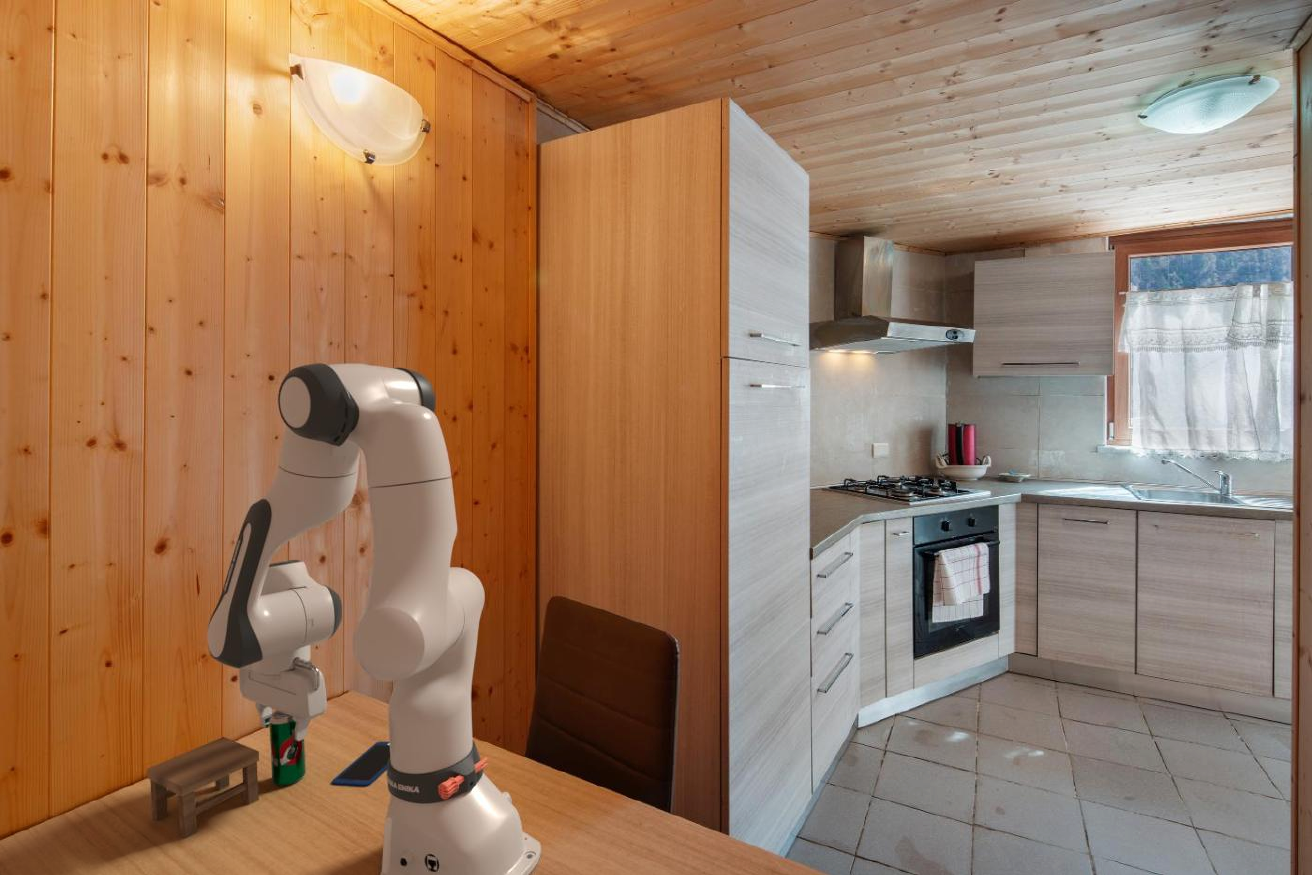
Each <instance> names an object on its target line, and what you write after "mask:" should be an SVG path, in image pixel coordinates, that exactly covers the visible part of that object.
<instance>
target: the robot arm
mask: <svg viewBox="0 0 1312 875" xmlns="http://www.w3.org/2000/svg"><path fill="white" fill-rule="evenodd" d="M278 389H279V390H278V395H277V403H278V410H279V415H280V417H281V420H282V421H283V423H284V424H285V425H286V426H285V429H284V433H283V437H282V442H281V447H280V452H279V460H278V466H277V467H278V468H277V472H276V476H275V478H274V481H273V482H272V485H271V486H270V488H268V490H267V492H266V493H265V495H264V496H263V497H262V498H261V499H259V500H258V501H255V502H254V503H253V504H251V506H250V507H249V509H248V510H247V513H246V515H245V517H244V519H243V520H244V521H243V523H242V526H241V527H240V531H239V535H238V537H237V541H236V544H235V547H234V549H233V553H232V557H231V560H230V563H229V567H228V571H227V574H226V578H225V581H224V584H223V588H222V591H221V593H220V597H219V599H218V602H217V603H216V606H215V608H214V610H213V613H212V614H211V616H210V618H209V619H210V620H209V622H208V626H207V632H206V633H207V634H206V642H207V648H208V652H209V654H210V656H211V658H212V659H214V660H216V661H217V662H219V663H221V664H223V665H225V666H228V667H230V668H234V669H237V670H238V682H239V685H238V686H239V691H240V693H241V696H242V697H243V698H244V699H246V700H249V701H252V702H253V703H255V708H256V710H257V713H258V716H259V717H260V718H259V719H260V720H259V725H260V727H263V728H266V729H269V721H270V719H271V715H272V713H273V710H275V711H277V710H278V711H280V712H283V713H286V714H288V715H291V716H294V718H295V722H297V723H296V727H295V728H294V729H292V738H293V739H295V740H297V741H300V740H302V739H304V740H305V739H306V738H307V736H308V726H309V724H310V722H311V720H313V719H315V718H317V717H319V716H322V715H324V713H325V712H326V710H327V707H328V703H327V702H328V701H327V699H328V698H327V690H326V684H325V678H324V675H323V673H322V671H321V670H320V669H318V668H317V666H316V664H315V663H314V662H313V661H310V660H311V658H312V656H311V655H312V654H311V652H312V651H311V645H315V644H319V643H321V642H324V641H326V640H328V639H330V638H332V637H333V636H335V633H337V631H338V629H339V627H340V625H341V623H342V619H343V605H342V600H341V599H342V598H341V596H340V594H339V593H337V591H335V590H334V589H332V588H331V587H329V586H327V585H325V584H319V583H318V582H317V581H316V580H315V579H314V578H312V577H311V576H310V574H309V572H308V569H307V565H306V563H305V562H304V561H303V560H299V559H290V560H285V561H279V562H273V563H271V561H272V559H273V557H274V555H275V554H276V553H277V552H278V550H280V549H281V547H283V546H284V545H286V543H288V542H289V541H291V540H293V539H295V538H296V537H298V536H300V535H302V534H303V533H306V532H308V531H310V530H312V529H315V528H317V527H319V526H322V525H324V524H326V523H328V522H330V521H332V520H333V519H335V518H336V517H339V515H340V514H342V513H343V511H345V510H346V509H347V508H348V506H349V505H350V504H351V502H352V500H353V498H354V496H355V492H356V490H357V485H358V477H359V476H358V475H359V467H360V459H361V458H360V457H361V456H360V455H361V454H360V453H361V451H362V452H363V455H364V459H365V469H366V481H367V487H368V488H367V489H368V490H367V491H368V500H369V501H368V502H369V510H370V518H371V529H372V544H373V545H372V560H371V568H370V576H369V581H368V582H369V583H368V589H367V595H366V601H365V605H364V608H363V611H362V614H361V616H360V619H359V620H358V623H357V625H356V627H355V628H354V631H353V635H352V650H353V654H354V658H355V660H356V662H357V664H358V665H359V666H360V668H361V669H362V670H363V671H364V672H365V673H366V674H368V675H369V676H371V677H372V678H374V679H377V680H379V681H384V682H395V685H394V688H393V691H392V694H391V695H390V698H389V702H388V709H387V711H388V712H387V713H388V734H389V735H388V736H389V740H388V741H389V742H390V757H389V759H388V763H387V770H386V780H387V790H388V792H389V793H390V797H389V798H390V799H389V802H388V809H387V812H386V816H385V821H384V830H383V843H382V844H383V845H382V859H381V871H380V874H379V875H530V874H531V873H532V871H533V870H534V869H535V867H536V866H537V864H538V862H539V859H540V857H541V854H542V847H541V842H540V841H539V840H537V839H535V838H534V837H532V836H530V834H528V833H526V832H525V831H523V826H522V821H521V818H520V813H519V812H518V809H517V808H516V807H515V806H514V805H513V799H512V797H511V794H510V793H509V792H508V791H502V792H501V790H500V789H498V787H497V786H496V785H495V784H494V783H493V782H492V781H491V780H490V779H489V777H488V776H487V775H486V774H485V773H484V768H485V767H487V766H488V765H489V763H488V762H486V761H487V760H488V759H489V758H488V757H487V756H486V757H484V758H482V759H481V757H480V753H479V749H478V748H477V746H476V742H475V741H474V739H473V720H472V719H473V718H472V716H473V715H472V714H473V713H472V686H473V676H474V669H475V668H474V667H475V660H476V653H477V647H478V646H477V644H478V638H479V637H478V636H479V627H480V625H479V624H480V620H481V617H482V611H483V609H484V606H485V599H486V598H485V597H486V596H485V589H484V586H483V584H482V581H481V580H480V578H478V577H477V575H476V574H475V573H473V572H472V571H470V570H468V569H466V568H462V567H460V566H459V567H456V566H455V567H454V566H453V567H452V566H451V561H452V553H453V547H454V544H455V543H454V542H455V540H456V538H457V535H458V523H457V522H458V521H457V514H456V503H455V496H454V495H455V494H454V487H453V477H452V472H451V471H452V470H451V464H450V460H449V459H450V458H449V453H448V449H447V445H446V441H445V438H444V434H443V431H442V430H443V429H442V428H441V425H440V422H439V419H438V417H437V416H436V414H435V410H436V393H435V391H434V388H433V386H432V384H431V382H430V381H429V379H428V378H427V377H426V376H424V375H423V374H422V373H419V372H417V371H415V370H412V369H408V368H405V367H395V368H393V367H386V366H379V365H371V364H370V365H369V364H365V363H357V362H356V363H349V362H348V363H333V364H325V363H322V362H318V363H317V362H316V363H311V364H304V365H301V366H298V367H294V368H292V369H291V370H290V371H288V372H287V373H286V374H285V376H284V378H283V380H282V381H281V384H280V386H279V388H278ZM485 762H486V763H485Z"/></svg>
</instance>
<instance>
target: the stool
mask: <svg viewBox="0 0 1312 875" xmlns="http://www.w3.org/2000/svg"><path fill="white" fill-rule="evenodd" d="M259 753H260V752H259V750H256V749H253V748H252V747H249V746H246V745H244V744H242V743H239V742H238V741H234V740H232V739H231V738H227V737H224V736H222V737H220V738H218V739H215V740H213V741H210V742H208V743H205V744H203V745H201V746H198V747H196V748H194V749H191V750H188V751H186V752H185V753H181V754H180V755H176V756H175V757H172V758H169V759H167V760H164V761H162V762H160V763H158V764H156V765H153V766H150V767H148V768H147V769H146V773H147V774H146V775H147V776H146V777H147V779H148V780H149V781H150V797H151V816H152V819H153V820H155V821H156V822H157V821H160V820H162V819H163V818H166V817H168V816H169V809H168V808H169V807H168V806H169V805H168V799H170V798H172V797H175V796H177V795H178V797H177V798H178V813H179V815H178V816H179V817H178V818H179V832H180V836H181V837H183V838H184V839H185V838H188V837H189V836H190V837H191V836H192V835H193V834H195V833H197V831H198V830H197V828H198V827H197V815H198V814H200V813H202V812H204V811H206V810H208V809H210V808H211V807H214V806H216V805H218V804H220V803H222V802H224V801H226V800H228V799H230V798H232V797H234V796H236V795H238V794H240V793H242V792H243V803H245V804H247V805H251V804H253V803H254V802H256V801H258V800H259V797H260V796H259V781H258V780H259V779H258V778H259V777H258V762H259V761H260V754H259ZM240 770H242V771H241V772H242V782H239V784H237V785H235V786H232V787H230V775H231V774H233V773H235V772H238V771H240ZM212 783H214V785H215V786H214V787H215V789H217V790H219V791H222V790H223V789H226V788H227V787H230V788H228V789H226V790H224V791H222V792H220V793H218V794H216V795H213V796H212V797H210V798H208V799H205V800H203V801H201V802H200V803H198V804H196V794H195V792H196V791H197V790H199V789H202V788H203V787H206V786H208V785H210V784H212Z"/></svg>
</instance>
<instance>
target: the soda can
mask: <svg viewBox="0 0 1312 875" xmlns="http://www.w3.org/2000/svg"><path fill="white" fill-rule="evenodd" d="M296 723H297V722H295V718H294V716H291V715H288V714H286V713H283V712H280V711H278V710H275V711H272V715H271V719H270V721H269V727H268V729H269V744H270V745H269V746H270V747H269V748H270V764H271V783H272V784H274V785H275V786H276V787H288V786H290V785H293V784H296V783H298V782H299V781H301V780H302V779H303V778H304V776H305V775H306V773H307V769H306V767H307V766H306V750H305V748H306V747H305V738H304V739H302V740H300V741H297V740H295V739H293V738H292V729H294V728H295V727H296Z"/></svg>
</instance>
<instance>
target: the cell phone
mask: <svg viewBox="0 0 1312 875" xmlns="http://www.w3.org/2000/svg"><path fill="white" fill-rule="evenodd" d="M389 757H390V741H377V742H375V743H374V744H372V746H370V747H369V748H368V749H367V750H365V751H364V752H363V753H362V754H361V755H360V756H359V757H358V758H357V759H355V760H354V761H353V762H352V763H351V764H349V766H347V767H346V768H344V770H342V771H341V772H340V773H339V774H337V776H335V778H333V780H331V785H333V786H340V787H341V786H342V787H360V788H364V787H365V788H367V787H369V786H371V785H372V784H373V783H375V782H376V781H377V780H378V779H379V778H380V777H381V776H382V775H383V774H384V773H385V772H387V763H388V759H389Z"/></svg>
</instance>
